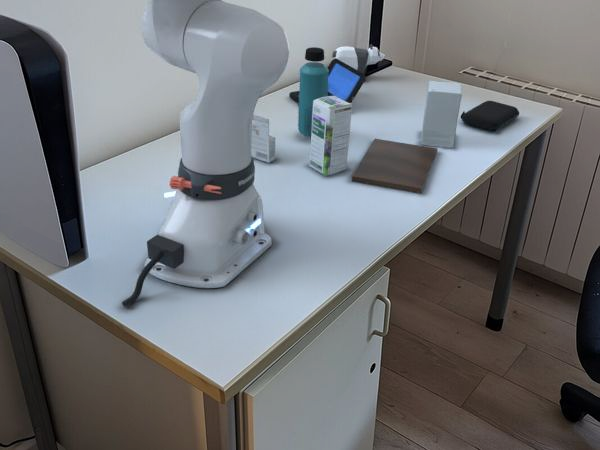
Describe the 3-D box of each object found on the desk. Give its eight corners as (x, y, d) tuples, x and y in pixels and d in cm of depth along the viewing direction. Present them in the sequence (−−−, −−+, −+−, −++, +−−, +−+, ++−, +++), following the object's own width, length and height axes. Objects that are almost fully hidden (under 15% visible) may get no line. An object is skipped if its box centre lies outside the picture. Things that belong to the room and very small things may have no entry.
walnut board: (421, 193, 131) (422, 188, 130) (351, 181, 135) (352, 176, 134) (437, 153, 147) (437, 148, 147) (374, 143, 151) (374, 138, 150)
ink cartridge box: (234, 146, 147) (233, 103, 142) (275, 159, 142) (276, 116, 137) (227, 150, 145) (226, 106, 140) (268, 163, 140) (269, 119, 135)
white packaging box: (453, 148, 150) (462, 94, 143) (419, 145, 151) (427, 90, 144) (453, 135, 156) (462, 82, 149) (421, 132, 157) (428, 79, 151)
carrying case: (480, 107, 172) (453, 123, 162) (482, 96, 171) (455, 111, 161) (520, 118, 167) (494, 136, 157) (523, 106, 165) (497, 123, 155)
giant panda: (331, 81, 186) (333, 46, 181) (329, 75, 190) (331, 41, 185) (384, 82, 187) (387, 47, 182) (381, 75, 191) (384, 42, 186)
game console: (286, 97, 174) (287, 63, 169) (332, 90, 180) (334, 56, 175) (316, 118, 162) (318, 82, 158) (364, 110, 168) (367, 75, 163)
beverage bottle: (316, 145, 149) (320, 55, 139) (291, 137, 152) (293, 49, 142) (331, 135, 154) (336, 48, 143) (307, 128, 157) (310, 42, 147)
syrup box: (308, 166, 140) (311, 99, 132) (330, 159, 143) (334, 93, 135) (325, 177, 136) (329, 108, 128) (348, 169, 139) (353, 102, 132)
